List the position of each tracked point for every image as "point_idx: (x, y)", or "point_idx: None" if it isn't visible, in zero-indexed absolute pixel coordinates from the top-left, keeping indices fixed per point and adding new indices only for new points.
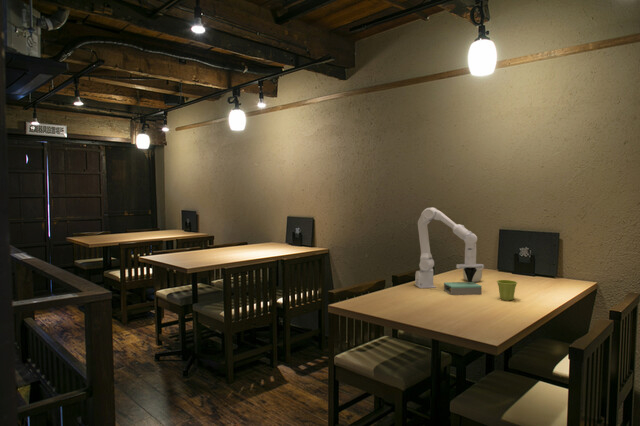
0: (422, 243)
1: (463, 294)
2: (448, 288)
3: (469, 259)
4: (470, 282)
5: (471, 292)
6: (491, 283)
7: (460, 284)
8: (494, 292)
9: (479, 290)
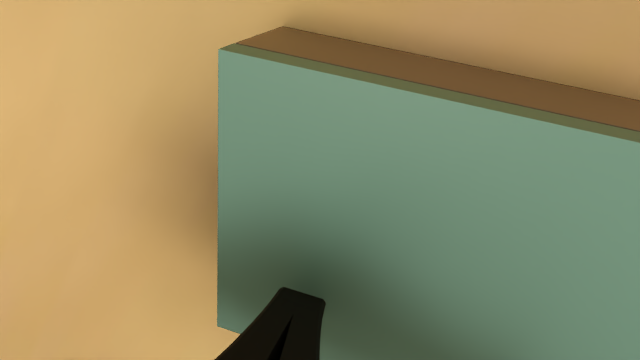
0: None
1: (593, 93)
2: None
3: None
4: None
5: (446, 68)
6: (15, 321)
7: (555, 299)
8: (69, 66)
9: (294, 42)
